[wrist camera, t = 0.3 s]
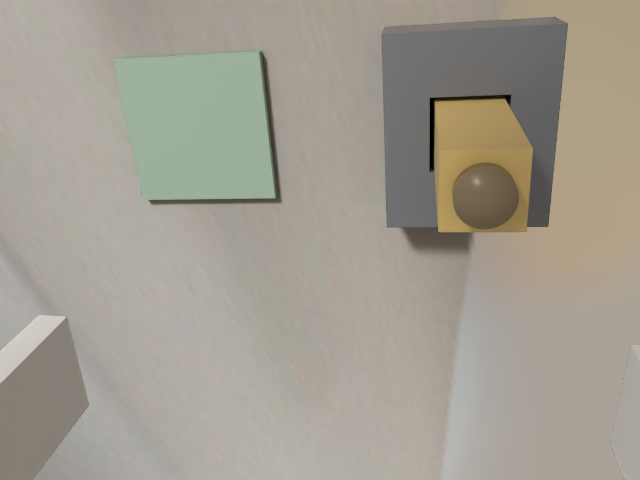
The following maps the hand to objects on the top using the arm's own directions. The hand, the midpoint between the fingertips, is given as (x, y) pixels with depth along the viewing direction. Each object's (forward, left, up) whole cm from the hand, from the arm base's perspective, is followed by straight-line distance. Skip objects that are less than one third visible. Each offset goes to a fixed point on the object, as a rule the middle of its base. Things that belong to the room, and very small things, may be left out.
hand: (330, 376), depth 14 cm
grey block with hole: (+1, +5, -28) cm, 28 cm away
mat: (+1, -13, -28) cm, 31 cm away
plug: (+1, +5, -28) cm, 28 cm away
